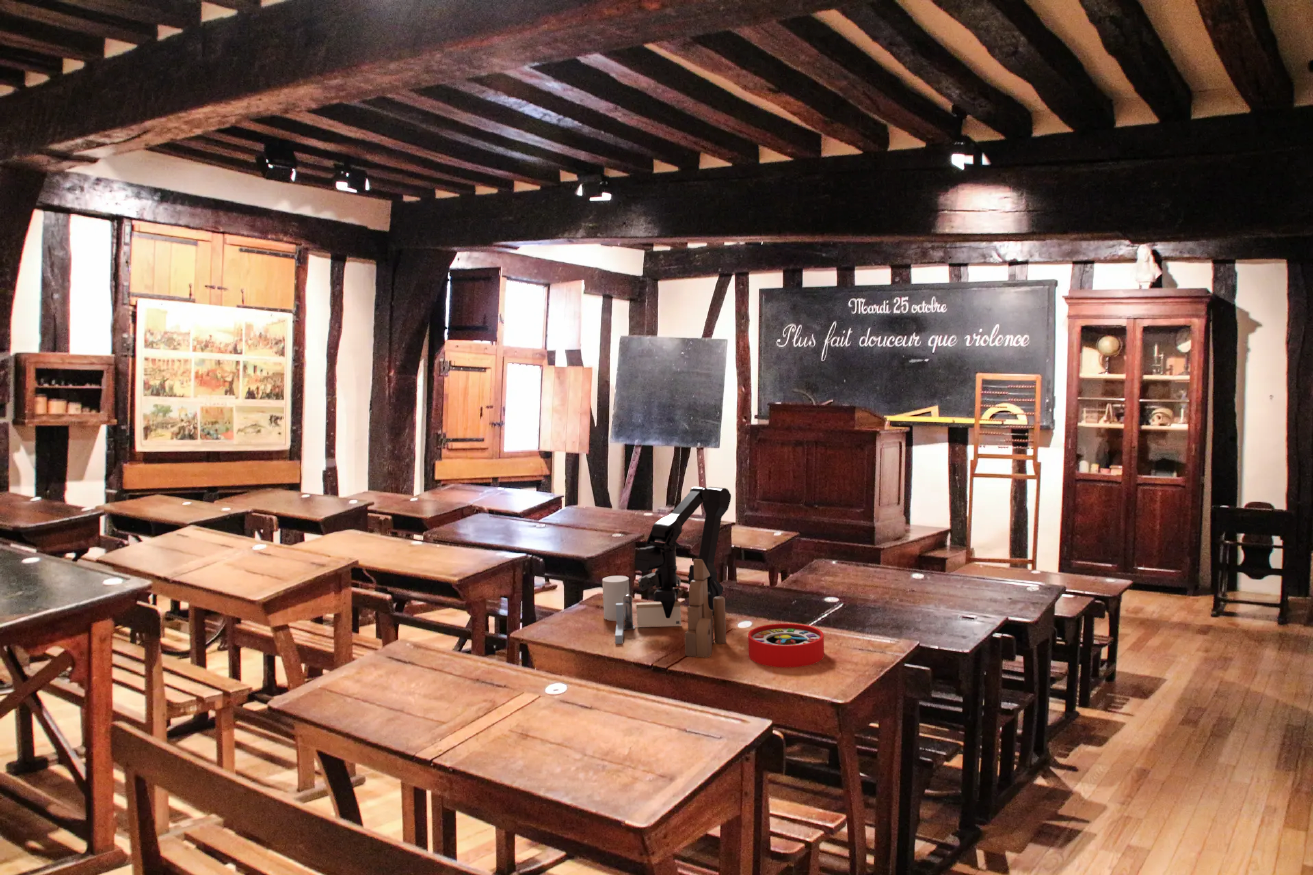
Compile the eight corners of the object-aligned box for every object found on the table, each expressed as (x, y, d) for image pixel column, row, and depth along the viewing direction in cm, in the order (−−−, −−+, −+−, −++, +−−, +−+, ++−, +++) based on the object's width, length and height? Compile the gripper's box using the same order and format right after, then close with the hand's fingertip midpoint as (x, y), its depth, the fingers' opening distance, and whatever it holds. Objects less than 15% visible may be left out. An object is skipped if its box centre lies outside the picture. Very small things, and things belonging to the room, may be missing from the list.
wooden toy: (708, 658, 260) (705, 566, 257) (685, 655, 262) (681, 564, 260) (727, 641, 274) (724, 553, 271) (705, 639, 276) (702, 552, 274)
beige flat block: (637, 627, 289) (636, 604, 288) (637, 624, 291) (636, 602, 290) (681, 625, 289) (680, 603, 288) (681, 623, 291) (680, 601, 290)
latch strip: (624, 629, 289) (623, 602, 288) (622, 643, 275) (621, 615, 274) (617, 629, 289) (616, 603, 288) (615, 643, 275) (614, 615, 274)
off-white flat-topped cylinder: (619, 611, 308) (617, 574, 307) (635, 616, 301) (634, 578, 300) (598, 617, 303) (597, 579, 301) (614, 622, 296) (613, 583, 295)
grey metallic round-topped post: (635, 625, 292) (633, 592, 291) (634, 629, 288) (633, 596, 287) (623, 626, 292) (621, 593, 291) (622, 629, 288) (621, 596, 287)
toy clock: (757, 621, 272) (829, 625, 266) (757, 641, 273) (829, 646, 266) (739, 643, 253) (816, 648, 247) (740, 665, 254) (817, 670, 248)
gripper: (643, 557, 297) (645, 607, 299) (635, 573, 279) (637, 626, 281) (679, 556, 296) (681, 607, 298) (673, 572, 278) (675, 626, 280)
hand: (668, 616), depth 289 cm, fingers open, 3 cm apart
